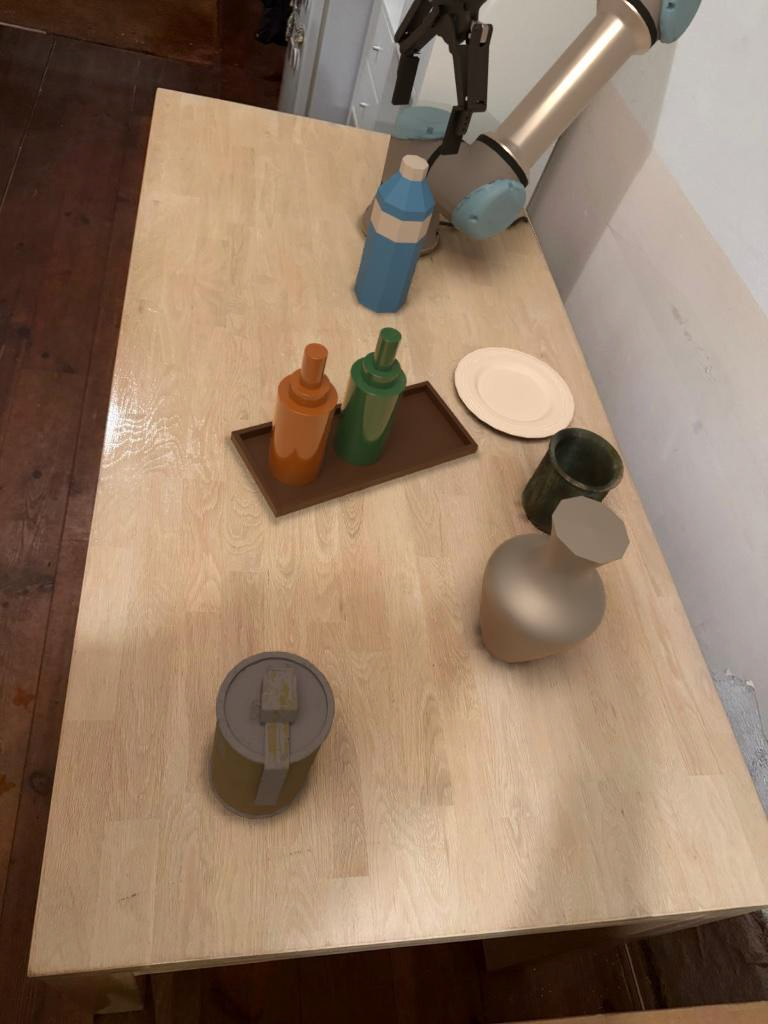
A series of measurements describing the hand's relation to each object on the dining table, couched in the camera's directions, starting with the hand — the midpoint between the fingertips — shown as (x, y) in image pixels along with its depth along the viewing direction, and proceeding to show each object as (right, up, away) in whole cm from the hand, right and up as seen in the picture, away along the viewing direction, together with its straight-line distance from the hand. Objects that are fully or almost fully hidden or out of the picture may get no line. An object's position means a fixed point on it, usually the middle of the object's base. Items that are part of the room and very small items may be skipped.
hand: (423, 128), depth 108 cm
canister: (-19, -83, -29) cm, 90 cm away
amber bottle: (-18, -49, -4) cm, 53 cm away
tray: (-10, -47, +1) cm, 48 cm away
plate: (+15, -37, +15) cm, 43 cm away
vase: (+10, -72, -13) cm, 74 cm away
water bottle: (-7, -18, +24) cm, 30 cm away
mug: (+19, -57, +1) cm, 60 cm away
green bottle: (-9, -46, 0) cm, 47 cm away
